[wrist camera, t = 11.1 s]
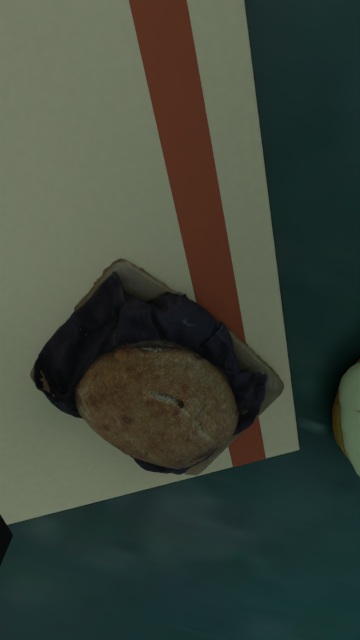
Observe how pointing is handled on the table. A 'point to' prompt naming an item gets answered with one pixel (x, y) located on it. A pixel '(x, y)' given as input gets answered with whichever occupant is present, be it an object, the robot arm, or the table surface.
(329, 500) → the table surface
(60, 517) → the table surface
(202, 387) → the bread roll
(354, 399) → the decorated donut
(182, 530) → the table surface
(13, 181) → the towel
